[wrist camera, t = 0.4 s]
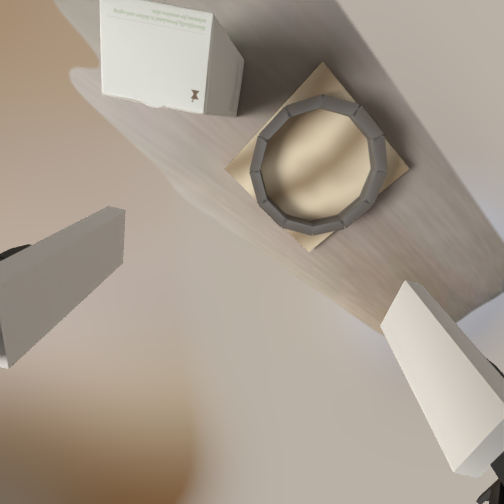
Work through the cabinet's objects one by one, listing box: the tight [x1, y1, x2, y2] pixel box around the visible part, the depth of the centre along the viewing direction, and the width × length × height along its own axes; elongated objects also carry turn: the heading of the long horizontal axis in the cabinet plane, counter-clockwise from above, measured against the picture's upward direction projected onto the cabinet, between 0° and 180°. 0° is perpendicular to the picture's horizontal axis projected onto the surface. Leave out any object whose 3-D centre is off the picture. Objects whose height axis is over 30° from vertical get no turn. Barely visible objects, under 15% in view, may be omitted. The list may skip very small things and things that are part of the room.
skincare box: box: [100, 0, 244, 118], centre depth 27 cm, size 8×7×16 cm
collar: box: [225, 61, 409, 252], centre depth 35 cm, size 16×16×4 cm
